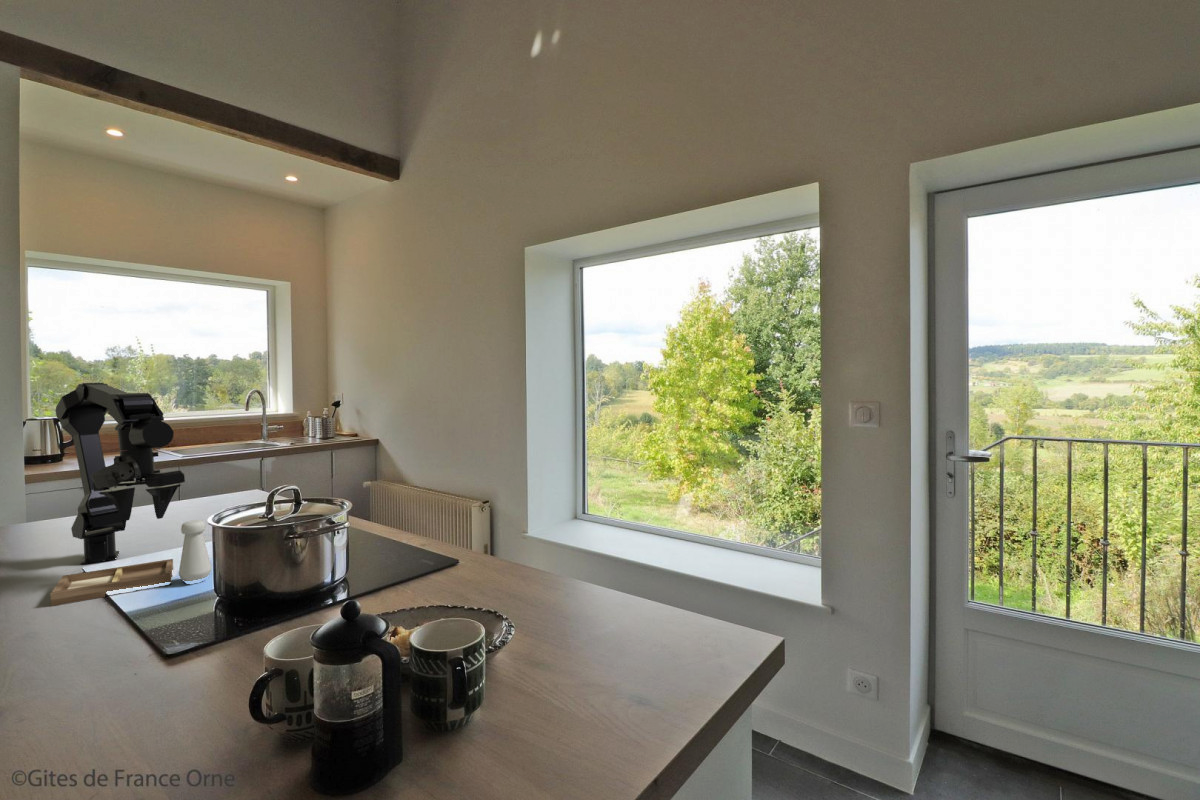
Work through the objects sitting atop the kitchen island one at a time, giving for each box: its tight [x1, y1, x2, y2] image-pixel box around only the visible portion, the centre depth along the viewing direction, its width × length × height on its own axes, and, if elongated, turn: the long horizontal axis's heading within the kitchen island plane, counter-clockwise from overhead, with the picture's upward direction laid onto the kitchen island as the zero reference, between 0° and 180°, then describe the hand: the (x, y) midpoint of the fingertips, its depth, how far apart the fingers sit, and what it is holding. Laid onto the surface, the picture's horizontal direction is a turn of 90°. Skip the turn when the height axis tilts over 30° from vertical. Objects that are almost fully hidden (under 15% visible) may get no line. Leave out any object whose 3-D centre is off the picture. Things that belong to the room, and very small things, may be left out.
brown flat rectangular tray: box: [50, 558, 174, 607], centre depth 119 cm, size 12×18×2 cm, turn 125°
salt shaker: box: [178, 519, 213, 581], centre depth 122 cm, size 6×6×13 cm
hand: (143, 519), depth 126 cm, fingers open, 9 cm apart
